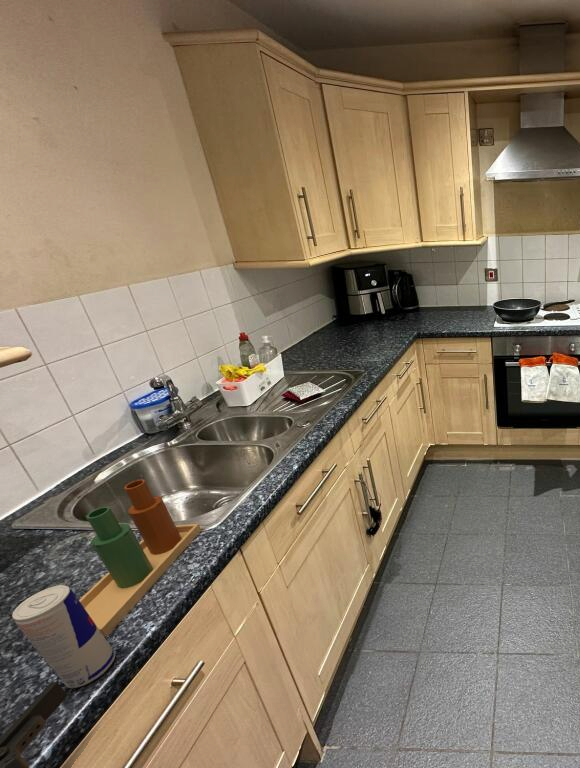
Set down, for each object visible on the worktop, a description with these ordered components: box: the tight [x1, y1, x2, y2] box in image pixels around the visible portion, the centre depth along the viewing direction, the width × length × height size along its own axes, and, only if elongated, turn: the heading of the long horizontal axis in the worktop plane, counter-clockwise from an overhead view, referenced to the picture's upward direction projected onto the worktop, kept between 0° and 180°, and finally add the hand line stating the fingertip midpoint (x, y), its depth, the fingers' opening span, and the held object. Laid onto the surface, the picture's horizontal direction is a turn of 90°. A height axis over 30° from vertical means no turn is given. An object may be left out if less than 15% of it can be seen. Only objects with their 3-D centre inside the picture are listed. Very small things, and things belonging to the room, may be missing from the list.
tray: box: [78, 523, 203, 638], centre depth 77 cm, size 9×24×2 cm, turn 3°
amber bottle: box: [124, 479, 182, 555], centre depth 81 cm, size 5×5×16 cm
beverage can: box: [11, 584, 116, 689], centre depth 58 cm, size 6×6×15 cm
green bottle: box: [85, 506, 153, 588], centre depth 74 cm, size 5×5×16 cm
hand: (4, 693), depth 51 cm, fingers open, 13 cm apart
